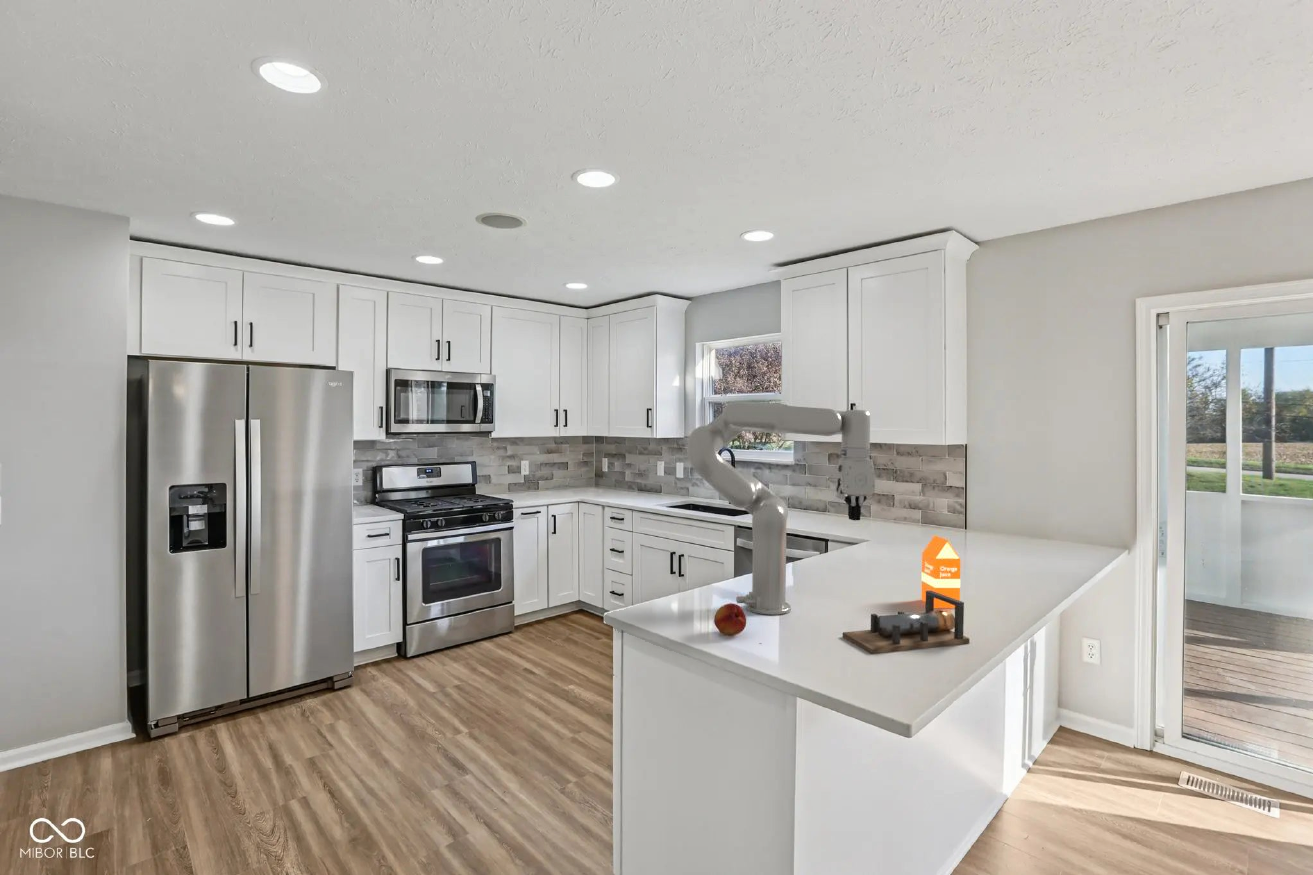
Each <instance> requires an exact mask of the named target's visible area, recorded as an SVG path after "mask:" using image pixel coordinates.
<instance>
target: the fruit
mask: <svg viewBox="0 0 1313 875" xmlns="http://www.w3.org/2000/svg"><path fill="white" fill-rule="evenodd" d="M713 624H714V626H715V627H716V629H717V630H718V631H719V633H720V634H722V635H725V636H736V635H738V634H741V633H742V632H743V631H744V629H745V628H746V627H747V617H746V613H745V612H744V610H743V608H742V607H741V606H740V605H738V604H736V603H732V602H731V603H730V602H729V603H725V604H723V605H721V606H720V607H719V608H718V609H717V610H716V612H715V614H714V619H713Z"/></svg>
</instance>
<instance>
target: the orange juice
mask: <svg viewBox="0 0 1313 875" xmlns="http://www.w3.org/2000/svg"><path fill="white" fill-rule="evenodd" d="M921 556H922V557H921V595H920V597H921V601H923V602H925V603H926V591H929V590H931V591H934V592H937V593H939V594H942V595H945V596H948V597H950V598H953V599H956V600H959V601H961V564H962V563H961V562H962V561H961V558H960V557H959V555H958V553H957V552H956V550H955V549H954V547H953V546H952V544H951V543H950V541H949V540H948V539H946V538H943V537H941V536H938V535H936V534H935V535H933V537H932V538H931V540H930V541H929V542H928V544H927V545H926V547H925V548H924V550H922V552H921ZM934 609H955V605H952V604H949V603H947V602H944V601H941V600H939V599H936V598H934Z"/></svg>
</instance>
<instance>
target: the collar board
mask: <svg viewBox="0 0 1313 875" xmlns="http://www.w3.org/2000/svg"><path fill="white" fill-rule="evenodd" d="M934 598H936V599H939V600H941V601H944V602H947V603H949V604H952V605H955V608H954V618H955V626H954V629H953V630H954V631H953V630H946V631H936V632H928V623H927V622H921V625H920V633H917V634H907V635H900V625H898V624H893V635H892V636H888V637H882V636H880V635H879V633H878V632H877V629H876V619H877V617H878V616H879V615H878V614H876V613H870V629H863V630H854V631H843V632H842V638H843V639H845V638H846V639H845V640H847V641H848V640H849V642H850V643H852V644H854V645H855V644H856V646H857V645H858V646H857V647H859V648H860V649H862V650H864V651H866V652H867V653H870V654H871V655H873V654H882V653H891V652H901V651H910V650H912V651H913V650H920V649H928V648H929V649H930V648H937V647H939V648H940V647H947V646H955V645H965V644H970V638H969V637H967V636H965V635H964V623H965V622H964V620H965V619H964V616H965V615H964V614H965V613H964V612H965V602H963V601H962V600H960V601H959V600H956V599H953V598H950V597H948V596H945V595H942V594H939V593H937V592H934V591H931V590H929V591H926V602H925V611H924V612H929V611H935V608H934ZM897 614H906V613H905V612H903V611H897Z"/></svg>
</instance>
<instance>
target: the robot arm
mask: <svg viewBox="0 0 1313 875" xmlns="http://www.w3.org/2000/svg"><path fill="white" fill-rule="evenodd" d="M743 432H756V433H768V434H781V435H784V434H796V435H798V434H799V435H809V436H820V437H821V436H822V437H824V436H825V437H830V436H831V437H832V436H836V435H841V448H840V449H839V450H838V451H837V454H838V455H839V456H841V458H839V461H838V465H837V470H836V479H835V480H836V481H835V490H836V491H835V492H836V493H837V494H836V498H837V499H838V500H843V501H844V502H845V504H846V505H847V507H848V508H847V515H848V516H847V517H848V520H850V521H861V515H862V514H861V513H862V507H863V505H864V502H866V501H867V500H870V499H872V498H873V495H874V494H875V493H876V474H875V467H874V462H873V459H870V451H871V447H870V446H871V439H870V438H871V414H870V412H869V411H867V410H865V409H863V410H862V409H848V410H843V411H842V410H835V409H833V408H827V407H826V408H823V407H810V406H809V407H808V406H796V405H795V406H793V405H787V404H781V403H770V402H769V403H768V402H753V401H741V400H740V401H739V400H738V401H737V400H736V401H731V402H729V403H727V404H726V405H725V406H724V408H723V409H722V413H721V414H719V415H718V416H717V417H716V418H714V419H713V420H712V421H711V422H709V423H708V424H707V425H701V426H698V427H696V428H695V429H694V430H692V432H691V433H690V434H689V437H688V441H687V448H686V451H687V457H688V460H689V464H690V465H691V467H692V468H693V470H694V471H695V472H696V473H697V475H698V476H700V477H701V479H703V480H704V481H705V482H707V483H708V485H710V486H711V487H712V488H713V489H714V490H715V491H716V492H717V493H718V494H720V495H721V496H722V498H724V499H726V500H727V502H729V503H730V504H731V505H732V506H734V507H735V508H740V509H744V510H745V511H746V512H747V513H748V514H750V515H751V516H752V518H751V524H752V525H751V526H752V527H751V528H752V529H751V532H752V576H751V577H752V581H751V582H752V585H751V586H752V587H751V588H752V589H751V590H752V591H748V594H746V596H744V595H741V596H740V595H739V596H736V598H735V601H736V603H737V604H744V605H746V608H747V610H748V611H751V612H753V613H757V614H761V615H769V616H771V615H772V616H774V615H777V616H778V615H784V614H788V613H789V612H791V610H792V609H791V608H792V605H790V604H789V603H788V602H786V594H787V593H786V586H787V580H786V578H787V523H788V522H787V521H788V516H789V511H788V507H787V505H786V503H785V501H783V500H782V499H781V498H780V497H779V496H778V495H777V494H775V493H774V492H773V491H772V490H770V489H769V488H768V487H767V486H766V485H764V483H762V482H761V481H759V480H758V479H757V478H756V477H754V475H753V476H752V475H750V474H748V473H741V472H740V471H739V470H737V469H736V468H735V467H734V466H733V465H732V464H730V462H728V461H727V460H725V459H724V458H723V457H722V456H721V455H720V454H719V453H718V451H720V450H721V449H722V448H724V447H725V446H726V445H728V444H729V443H730V442H731V441H733V440H735V439H736V437H737V438H738V437H739V435H740V434H741V433H743Z"/></svg>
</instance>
